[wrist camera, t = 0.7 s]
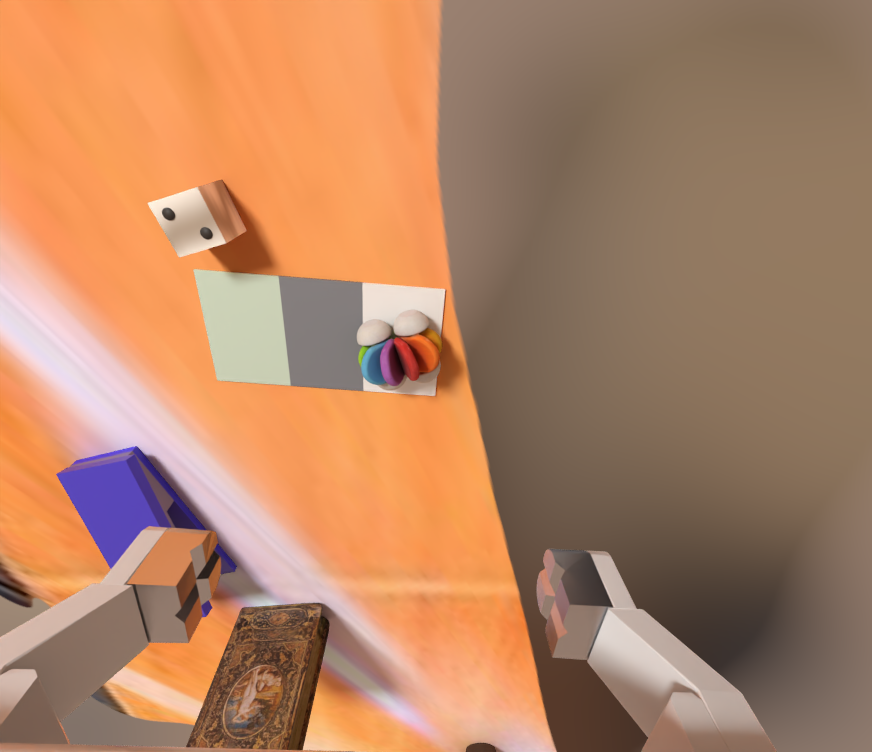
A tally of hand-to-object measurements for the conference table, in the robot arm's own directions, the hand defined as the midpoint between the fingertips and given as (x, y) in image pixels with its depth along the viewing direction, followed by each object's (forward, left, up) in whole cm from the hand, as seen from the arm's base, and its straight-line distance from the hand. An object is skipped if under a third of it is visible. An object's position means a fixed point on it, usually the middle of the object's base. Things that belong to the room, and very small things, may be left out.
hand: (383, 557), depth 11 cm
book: (+72, -21, -39) cm, 85 cm away
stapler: (+47, -38, -39) cm, 72 cm away
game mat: (+14, -11, -39) cm, 43 cm away
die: (+1, -21, -39) cm, 44 cm away
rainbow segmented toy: (+14, -2, -39) cm, 41 cm away
